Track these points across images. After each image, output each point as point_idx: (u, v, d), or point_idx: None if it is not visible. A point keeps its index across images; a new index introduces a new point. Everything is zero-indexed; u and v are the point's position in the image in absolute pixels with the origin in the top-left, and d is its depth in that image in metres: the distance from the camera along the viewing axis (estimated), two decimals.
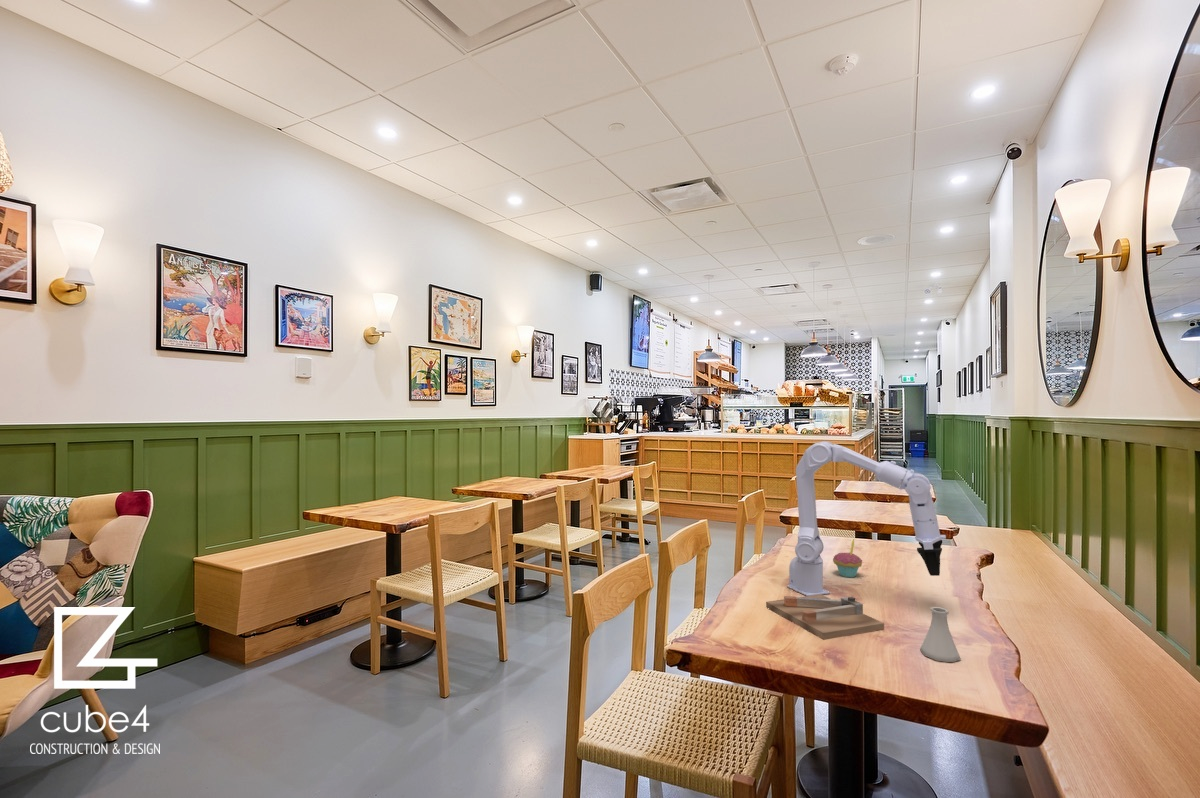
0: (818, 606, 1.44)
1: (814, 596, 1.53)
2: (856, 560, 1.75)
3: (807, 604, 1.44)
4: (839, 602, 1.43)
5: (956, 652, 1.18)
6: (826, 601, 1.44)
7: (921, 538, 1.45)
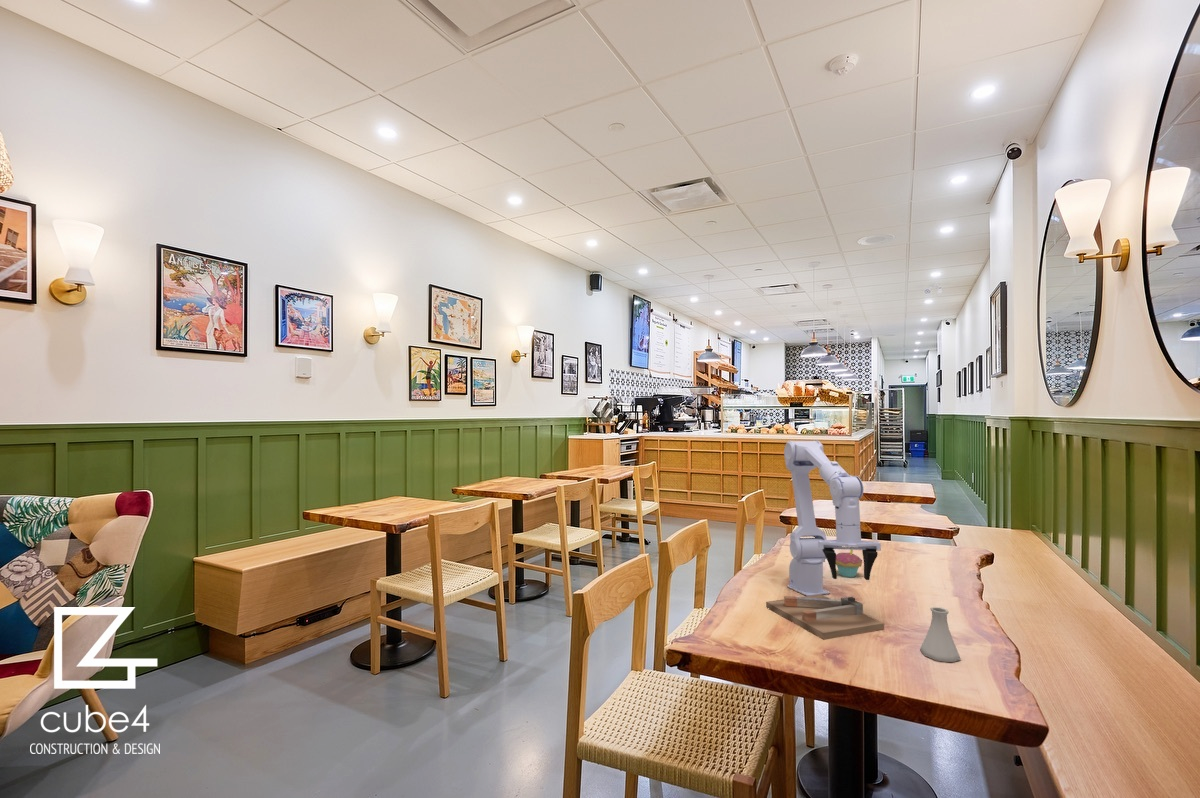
0: (818, 606, 1.44)
1: (814, 596, 1.53)
2: (856, 560, 1.75)
3: (807, 604, 1.44)
4: (839, 602, 1.43)
5: (956, 652, 1.18)
6: (826, 601, 1.44)
7: (836, 540, 1.43)
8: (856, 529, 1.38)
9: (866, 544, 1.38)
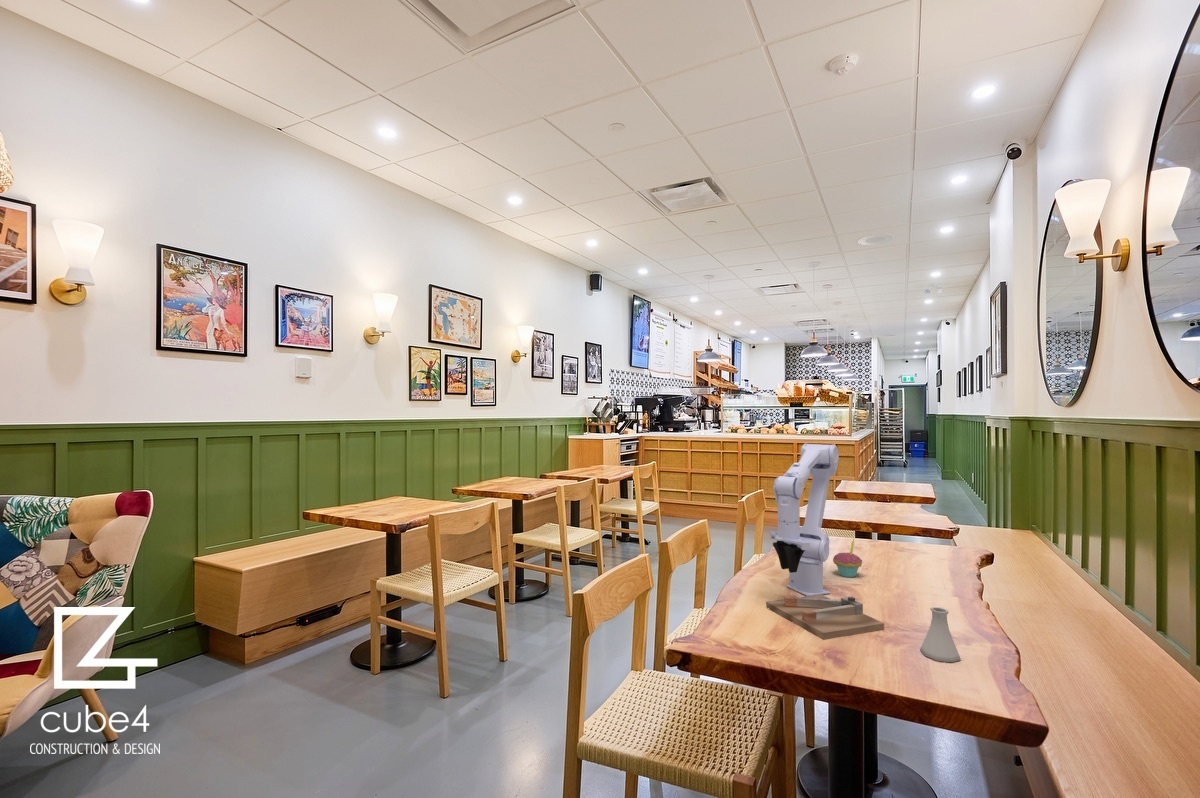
0: (818, 606, 1.44)
1: (814, 596, 1.53)
2: (856, 560, 1.75)
3: (807, 604, 1.44)
4: (839, 602, 1.43)
5: (956, 652, 1.18)
6: (826, 601, 1.44)
7: None
8: (784, 525, 1.49)
9: (791, 541, 1.47)
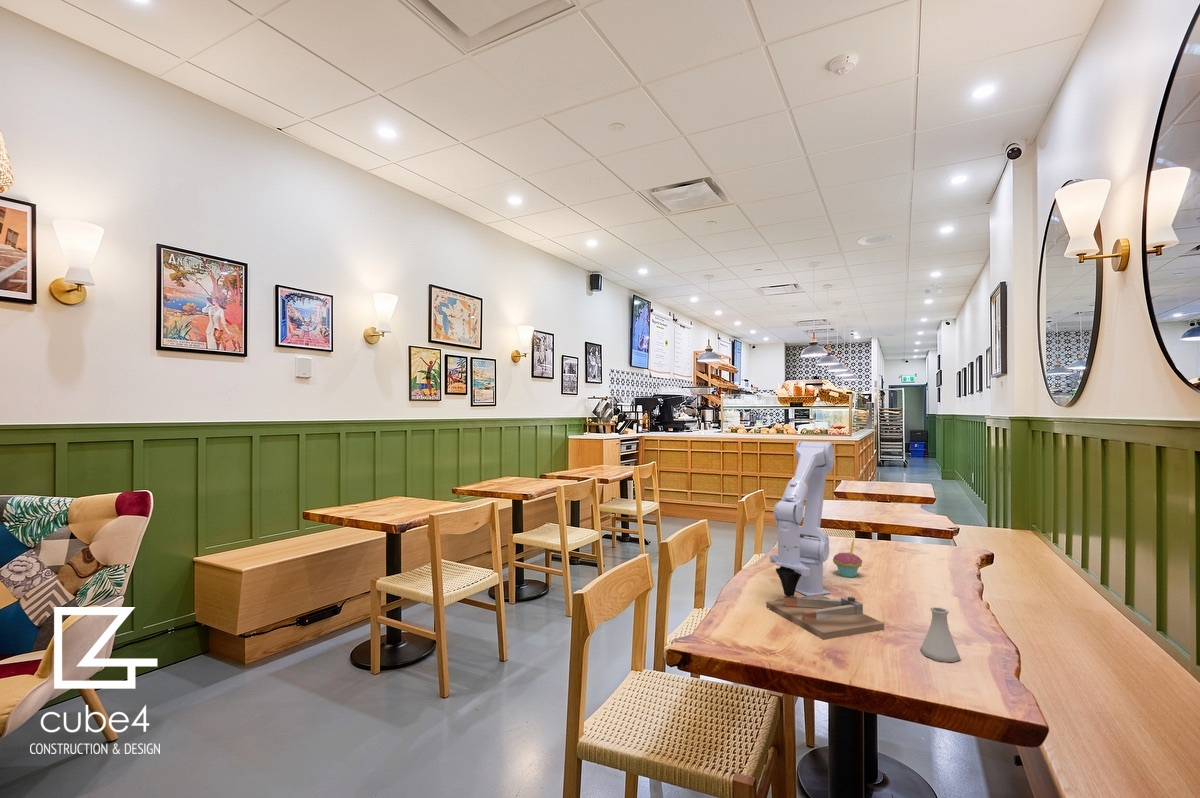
0: (818, 606, 1.44)
1: (814, 596, 1.53)
2: (856, 560, 1.75)
3: (807, 604, 1.44)
4: (839, 602, 1.43)
5: (956, 652, 1.18)
6: (826, 601, 1.44)
7: None
8: (784, 550, 1.49)
9: (792, 566, 1.47)
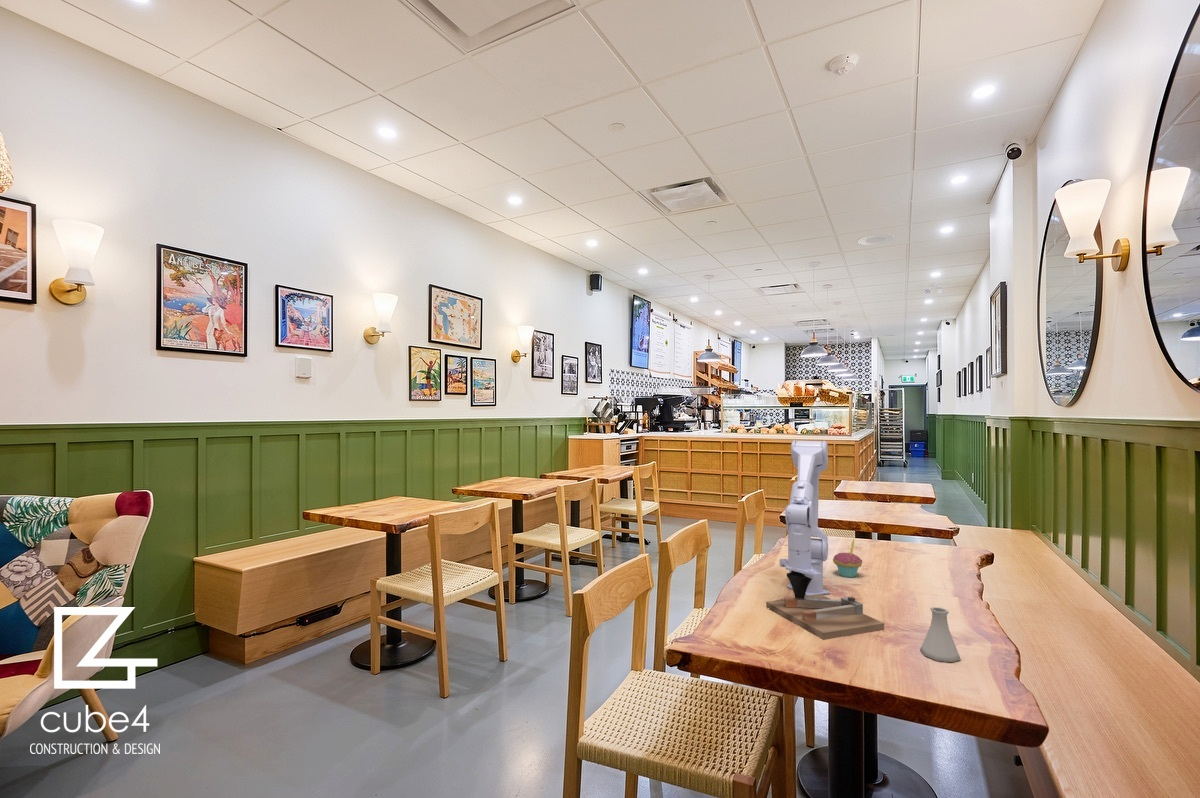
0: (818, 606, 1.44)
1: (814, 596, 1.53)
2: (856, 560, 1.75)
3: (808, 605, 1.44)
4: (839, 602, 1.43)
5: (956, 652, 1.18)
6: (826, 601, 1.43)
7: None
8: (795, 555, 1.45)
9: (802, 571, 1.43)
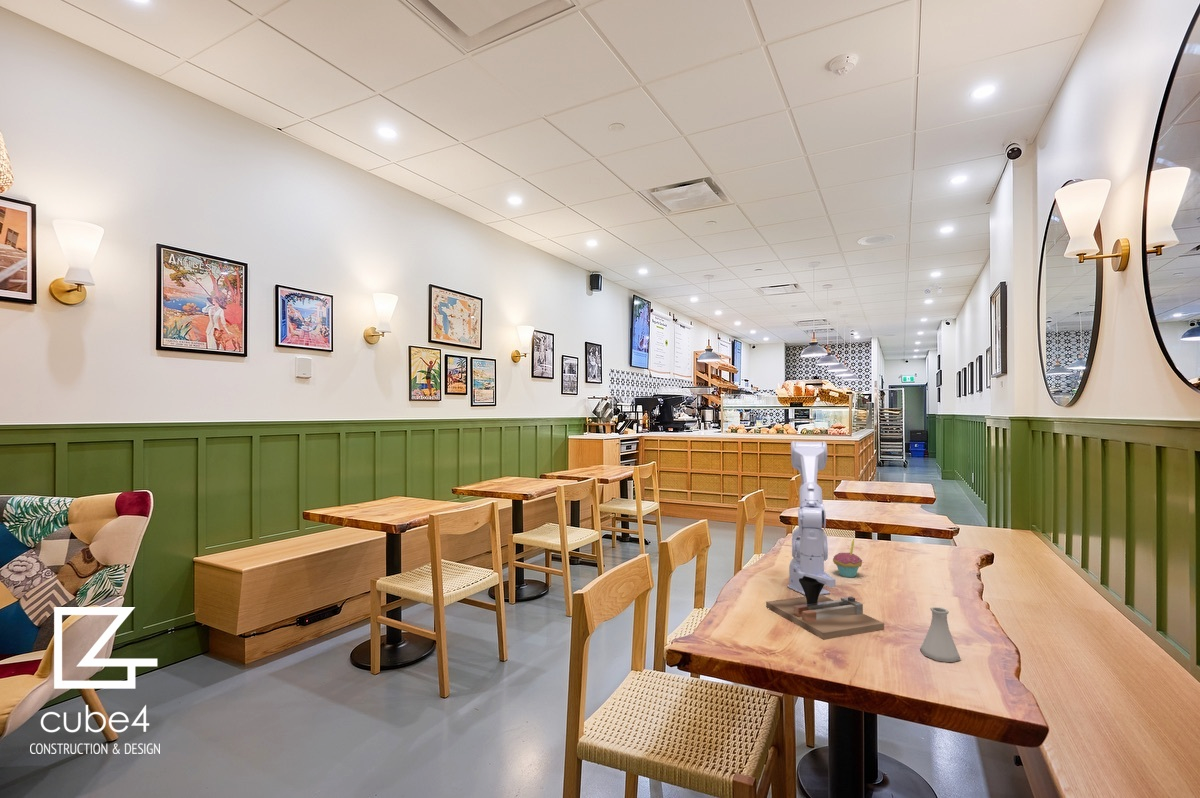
0: None
1: None
2: (856, 560, 1.75)
3: None
4: (841, 602, 1.43)
5: (956, 652, 1.18)
6: (831, 604, 1.42)
7: None
8: (807, 559, 1.40)
9: (815, 577, 1.38)
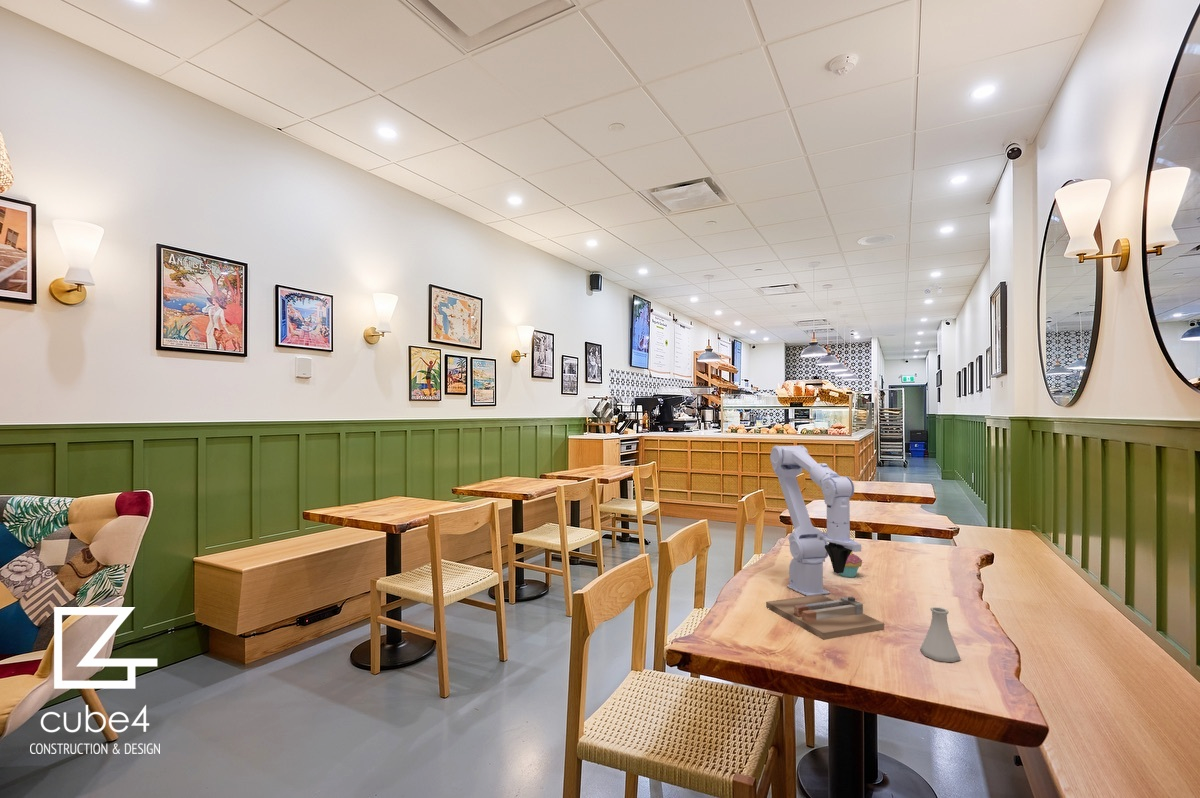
0: None
1: (814, 596, 1.53)
2: (856, 560, 1.74)
3: None
4: (841, 602, 1.43)
5: (956, 652, 1.18)
6: (831, 604, 1.42)
7: None
8: (834, 527, 1.47)
9: (842, 542, 1.45)
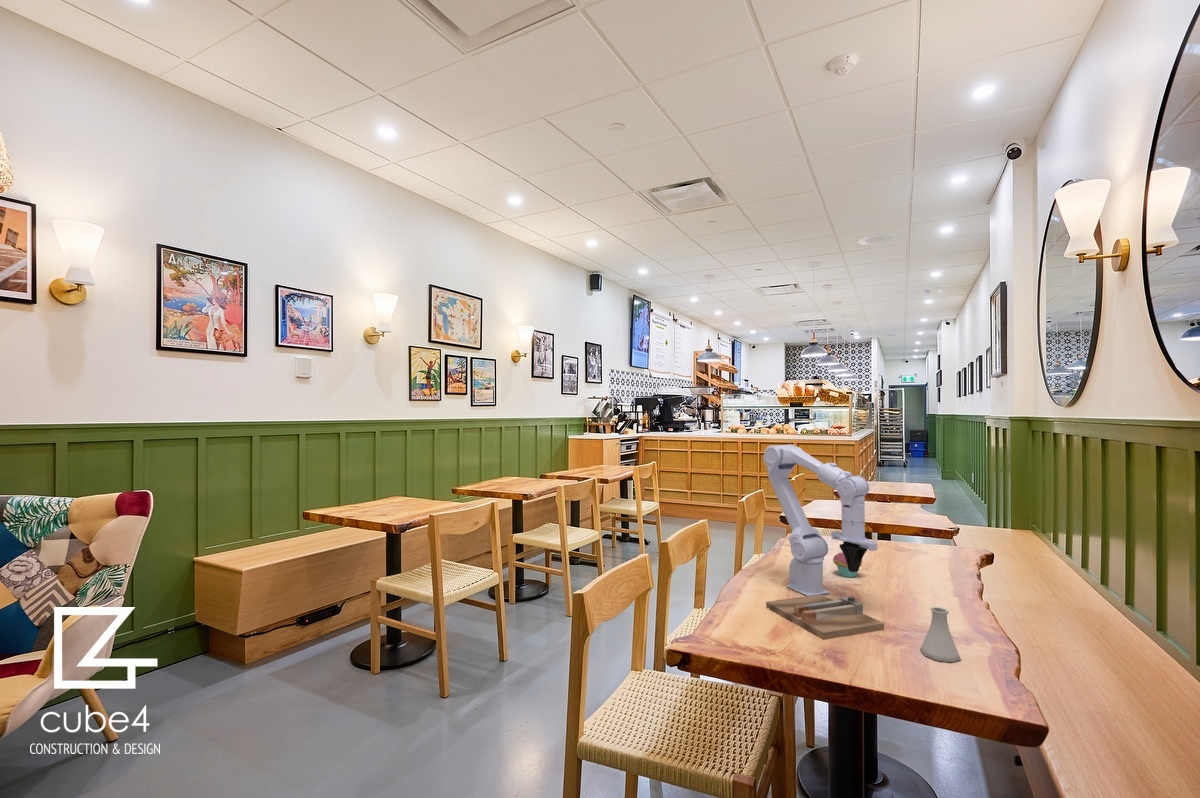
0: None
1: (814, 596, 1.53)
2: None
3: None
4: (841, 602, 1.43)
5: (956, 652, 1.18)
6: (831, 604, 1.42)
7: None
8: (849, 526, 1.48)
9: (858, 541, 1.46)
